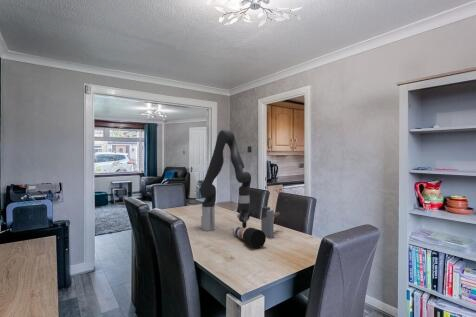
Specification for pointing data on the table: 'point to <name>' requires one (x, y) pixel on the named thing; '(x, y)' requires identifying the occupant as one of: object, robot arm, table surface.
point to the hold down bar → (264, 212)
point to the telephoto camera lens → (251, 236)
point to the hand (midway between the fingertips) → (244, 227)
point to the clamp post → (268, 224)
